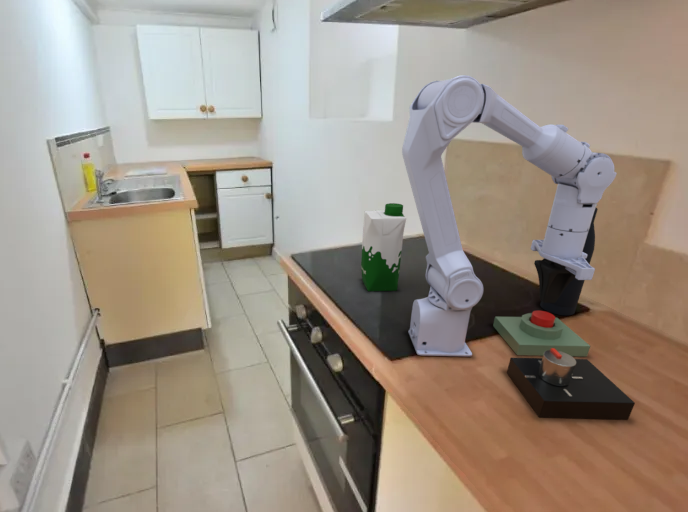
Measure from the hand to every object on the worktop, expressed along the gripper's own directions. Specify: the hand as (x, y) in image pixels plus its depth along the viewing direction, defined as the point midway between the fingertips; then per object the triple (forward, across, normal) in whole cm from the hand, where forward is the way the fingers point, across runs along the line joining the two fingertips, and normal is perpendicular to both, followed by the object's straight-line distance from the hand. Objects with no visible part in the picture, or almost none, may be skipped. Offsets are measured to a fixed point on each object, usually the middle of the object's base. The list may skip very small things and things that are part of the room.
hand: (547, 301), depth 68 cm
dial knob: (+5, -15, +6) cm, 17 cm away
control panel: (+8, -15, +4) cm, 18 cm away
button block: (+8, 0, 0) cm, 8 cm away
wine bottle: (+8, +13, -11) cm, 19 cm away
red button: (+5, 0, 0) cm, 5 cm away
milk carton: (+8, +24, +26) cm, 36 cm away
